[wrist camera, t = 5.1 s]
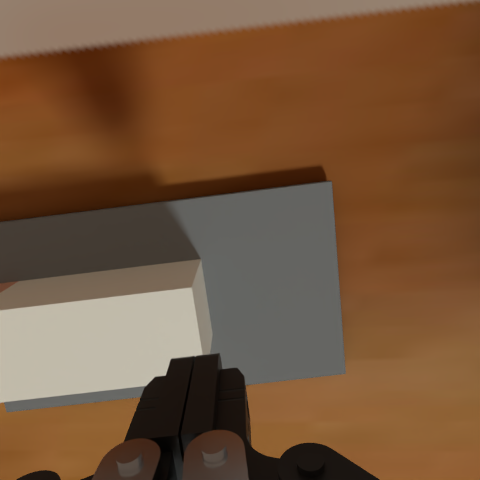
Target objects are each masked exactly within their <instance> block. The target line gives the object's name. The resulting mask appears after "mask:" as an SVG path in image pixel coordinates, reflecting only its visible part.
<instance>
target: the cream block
mask: <svg viewBox="0 0 480 480" xmlns="http://www.w3.org/2000/svg"><path fill="white" fill-rule="evenodd" d="M212 335H213V334H212V327H211V321H210V314H209V308H208V301H207V295H206V288H205V282H204V275H203V269H202V262H201V259H197V260H189V261H180V262H172V263H164V264H156V265H148V266H139V267H131V268H123V269H115V270H107V271H98V272H90V273H82V274H74V275H65V276H57V277H49V278H41V279H33V280H24V281H16V282H8V283H0V403H1V402H10V401H18V400H27V399H36V398H45V397H53V396H62V395H71V394H80V393H89V392H97V391H106V390H115V389H124V388H132V387H141V386H146V385H147V384H148V383H149V382H150V381H151V380H152V379H153V378H154V377H157V376H166V373H167V370H168V366H169V363H170V360H171V359H172V358H180V357H189V356H195V357H196V356H197V355H206V354H210V350H211V342H212Z"/></svg>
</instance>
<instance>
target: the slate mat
mask: <svg viewBox="0 0 480 480" xmlns="http://www.w3.org/2000/svg"><path fill="white" fill-rule="evenodd" d="M197 259H201V262H202V269H203V275H204V282H205V288H206V295H207V301H208V308H209V314H210V321H211V327H212V334H213V335H212V342H211V350H210V354H215V353H220V356H221V362H222V369H228V368H238V369H239V370H240V371H241V373H242V374H243V375H244V377H245V385H251V384H260V383H269V382H277V381H286V380H295V379H304V378H313V377H321V376H330V375H339V374H346V372H345V358H344V344H343V330H342V317H341V303H340V289H339V275H338V261H337V248H336V234H335V220H334V206H333V192H332V181H322V182H314V183H306V184H298V185H290V186H282V187H274V188H266V189H258V190H250V191H242V192H234V193H227V194H219V195H211V196H203V197H195V198H187V199H179V200H171V201H163V202H155V203H147V204H139V205H131V206H123V207H115V208H107V209H99V210H91V211H83V212H75V213H67V214H59V215H51V216H43V217H35V218H27V219H19V220H11V221H3V222H0V283H8V282H16V281H24V280H33V279H41V278H49V277H57V276H65V275H74V274H82V273H90V272H98V271H107V270H115V269H123V268H131V267H139V266H148V265H156V264H164V263H172V262H180V261H189V260H197ZM144 387H145V386H141V387H132V388H124V389H115V390H106V391H97V392H89V393H80V394H71V395H62V396H53V397H45V398H36V399H27V400H18V401H10V402H4V404H5V408H6V411H7V412H13V411H22V410H30V409H39V408H48V407H57V406H66V405H74V404H83V403H92V402H101V401H110V400H119V399H127V398H136V397H141V395H142V393H143V390H144Z"/></svg>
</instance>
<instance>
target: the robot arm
mask: <svg viewBox="0 0 480 480" xmlns="http://www.w3.org/2000/svg"><path fill="white" fill-rule="evenodd" d="M17 480H61V479H60V477H59V475H58V474H57V473H55V472H52V471H47V470H44V471H36V472H33V473H29V474H27V475H24V476H22V477H20V478H18V479H17ZM81 480H379V479H378V478H376V477H375V476H373V475H371V474H370V473H368V472H367V471H365V470H364V469H362V468H361V467H359V466H357V465H356V464H354V463H353V462H351V461H350V460H348V459H347V458H345V457H344V456H342V455H340V454H339V453H337V452H336V451H334V450H333V449H331V448H329V447H327V446H325V445H322V444H317V443H303V444H298V445H295V446H293V447H291V448H289V449H288V450H287V451H285V452H284V453H283V455H282V456H281V457H280V459H279V458H273V457H269V456H265V455H263V454H261V453H259V452H257V451H256V450H254V449H253V448H252V447H251V428H250V415H249V408H248V400H247V392H246V385H245V377H244V375H243V374H242V373H241V371H240V370H239V369H238V368H228V369H222V362H221V356H220V353H215V354H206V355H197V356H196V357H195V356H189V357H180V358H172V359H171V360H170V363H169V366H168V370H167V373H166V376H157V377H154V378H153V379H152V380H151V381H150V382H149V383H148V384H147V385H146V386H145V387H144V390H143V393H142V395H141V398H140V402H139V403H138V406H137V408H136V411H135V414H134V416H133V419H132V422H131V424H130V427H129V429H128V432H127V435H126V437H125V440H124V442H123V443H121V444H119V445H117V446H116V447H114V448H113V449H111V450H110V451H109V452H108V453H107V454H106V455H105V456H104V457H103V459H102V461H101V462H100V464H99V466H98V468H97V470H96V472H95V474H94V475H91V476H89V477H87V478H84V479H81Z"/></svg>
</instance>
